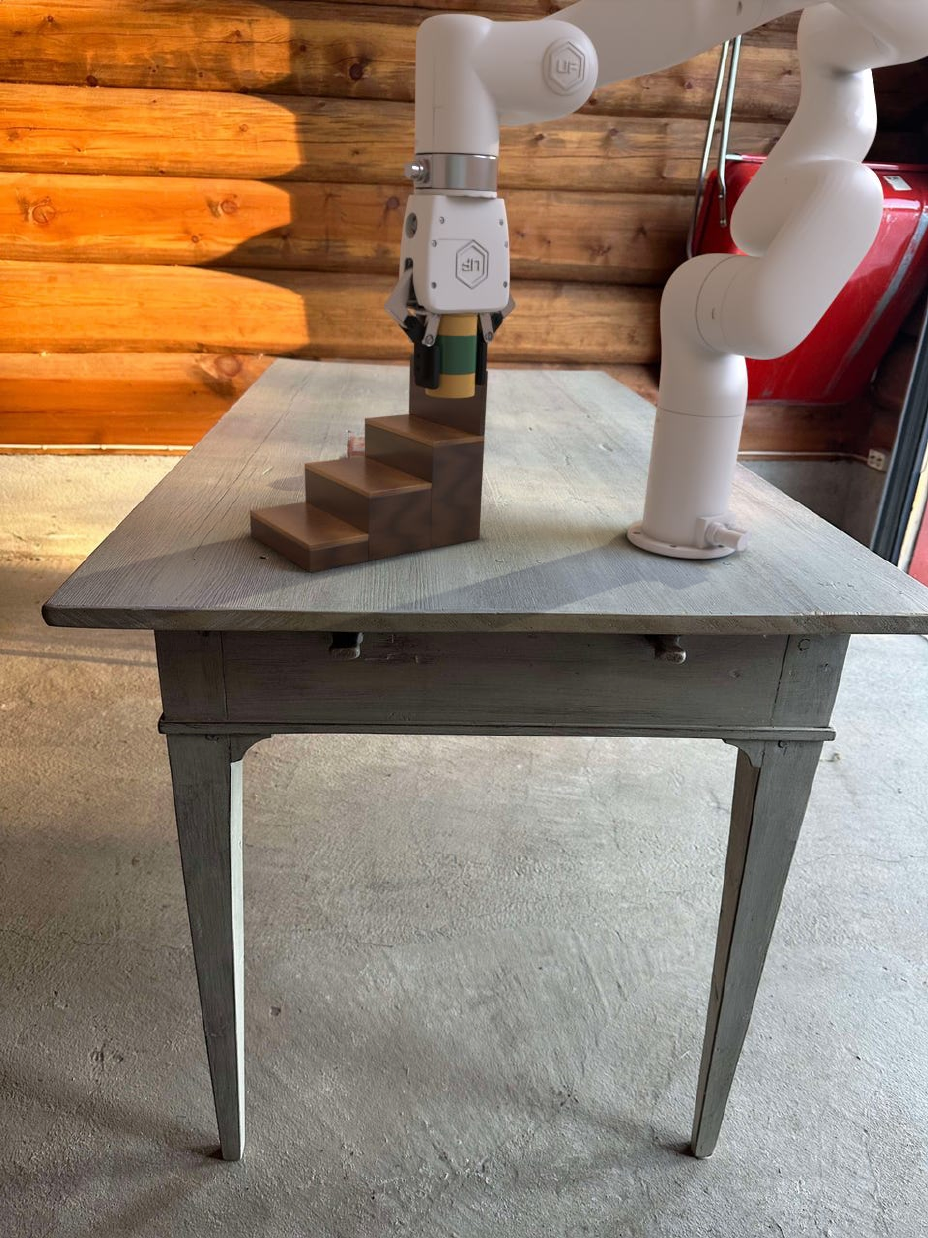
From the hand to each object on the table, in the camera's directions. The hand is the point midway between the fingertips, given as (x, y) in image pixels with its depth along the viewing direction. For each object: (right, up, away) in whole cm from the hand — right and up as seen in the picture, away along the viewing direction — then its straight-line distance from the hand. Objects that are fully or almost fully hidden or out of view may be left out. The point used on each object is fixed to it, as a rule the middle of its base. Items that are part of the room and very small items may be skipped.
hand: (450, 383), depth 89 cm
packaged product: (-8, -3, +42) cm, 43 cm away
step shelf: (-10, -14, +15) cm, 23 cm away
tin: (0, -1, 0) cm, 1 cm away
